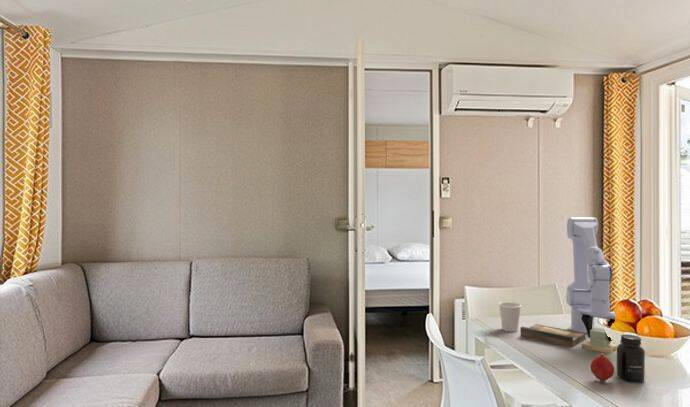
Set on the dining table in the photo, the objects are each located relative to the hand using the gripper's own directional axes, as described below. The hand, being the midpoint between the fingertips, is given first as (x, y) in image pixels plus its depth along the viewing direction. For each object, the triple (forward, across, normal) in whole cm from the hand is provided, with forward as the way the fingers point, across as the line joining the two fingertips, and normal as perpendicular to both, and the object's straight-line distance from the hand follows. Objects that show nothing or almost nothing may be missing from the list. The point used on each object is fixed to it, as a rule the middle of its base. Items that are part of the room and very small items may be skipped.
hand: (600, 339), depth 158 cm
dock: (+3, -16, 0) cm, 16 cm away
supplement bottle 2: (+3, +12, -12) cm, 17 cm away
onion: (+3, +10, -32) cm, 34 cm away
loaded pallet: (+3, 0, 0) cm, 3 cm away
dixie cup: (+3, -32, -1) cm, 32 cm away
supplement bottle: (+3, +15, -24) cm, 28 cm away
